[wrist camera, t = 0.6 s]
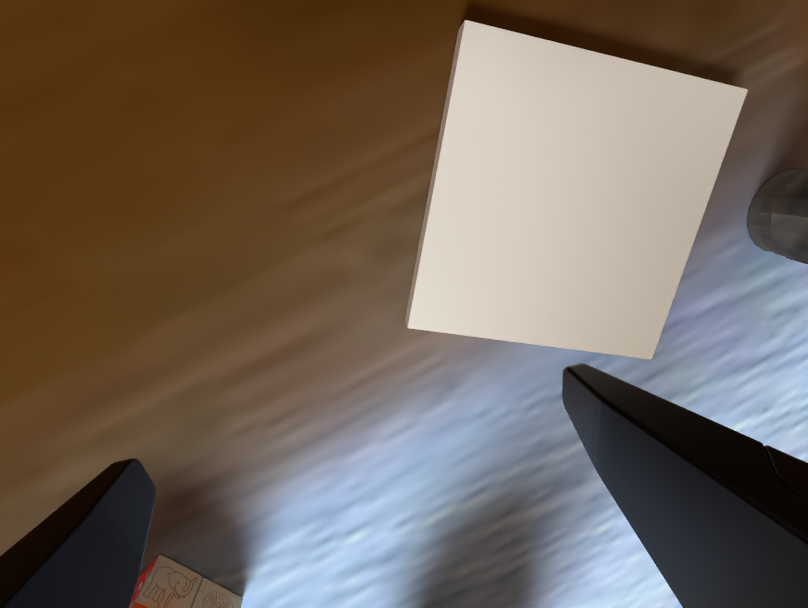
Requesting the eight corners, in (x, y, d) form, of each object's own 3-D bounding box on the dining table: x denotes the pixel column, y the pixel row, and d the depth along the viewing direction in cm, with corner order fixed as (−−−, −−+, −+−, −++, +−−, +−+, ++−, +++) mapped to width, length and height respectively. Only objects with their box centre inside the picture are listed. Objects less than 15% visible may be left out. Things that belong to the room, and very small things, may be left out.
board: (638, 351, 25) (651, 359, 24) (405, 320, 23) (407, 327, 22) (726, 94, 21) (747, 89, 20) (458, 28, 19) (465, 19, 18)
